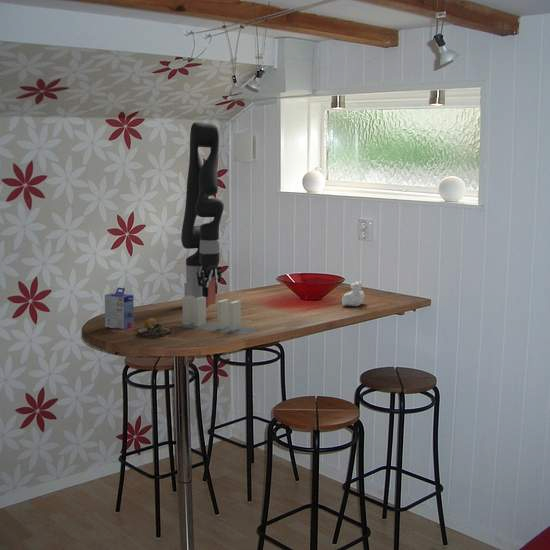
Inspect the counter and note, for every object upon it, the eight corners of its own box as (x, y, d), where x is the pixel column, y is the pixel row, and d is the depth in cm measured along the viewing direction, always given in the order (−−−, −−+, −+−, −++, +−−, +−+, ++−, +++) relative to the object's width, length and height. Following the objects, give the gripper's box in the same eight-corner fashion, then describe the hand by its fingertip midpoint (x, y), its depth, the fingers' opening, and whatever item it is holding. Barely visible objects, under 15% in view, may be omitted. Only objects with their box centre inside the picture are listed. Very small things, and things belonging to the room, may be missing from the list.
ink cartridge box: (135, 327, 276) (134, 288, 274) (124, 330, 272) (123, 291, 269) (115, 324, 281) (113, 286, 279) (104, 327, 277) (103, 288, 274)
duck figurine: (344, 312, 312) (356, 293, 305) (334, 299, 316) (346, 280, 309) (364, 308, 319) (377, 290, 313) (354, 295, 323) (366, 277, 316)
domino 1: (182, 324, 278) (182, 297, 277) (190, 321, 283) (190, 295, 281) (186, 325, 277) (186, 298, 276) (195, 322, 282) (194, 295, 280)
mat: (175, 327, 276) (175, 325, 276) (193, 321, 286) (193, 320, 286) (244, 336, 263) (244, 334, 263) (260, 329, 272) (260, 328, 272)
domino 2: (194, 326, 276) (193, 299, 274) (202, 323, 280) (201, 296, 279) (198, 326, 275) (197, 299, 273) (206, 323, 280) (205, 297, 278)
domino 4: (229, 330, 269) (229, 302, 267) (237, 327, 273) (236, 300, 272) (233, 331, 268) (233, 303, 266) (241, 328, 272) (241, 300, 271)
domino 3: (217, 329, 271) (217, 301, 270) (225, 326, 276) (224, 299, 274) (221, 329, 270) (221, 302, 269) (229, 326, 275) (229, 299, 273)
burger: (174, 337, 263) (174, 316, 262) (140, 340, 259) (139, 318, 258) (167, 329, 274) (166, 309, 273) (134, 332, 270) (133, 311, 269)
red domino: (203, 305, 288) (203, 279, 286) (211, 302, 293) (211, 277, 291) (207, 305, 288) (207, 279, 286) (215, 303, 292) (215, 277, 290)
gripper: (212, 248, 294) (212, 291, 297) (190, 253, 282) (190, 297, 285) (228, 249, 291) (228, 293, 294) (206, 254, 278) (207, 300, 282)
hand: (209, 295), depth 289 cm, fingers closed on red domino, 5 cm apart
